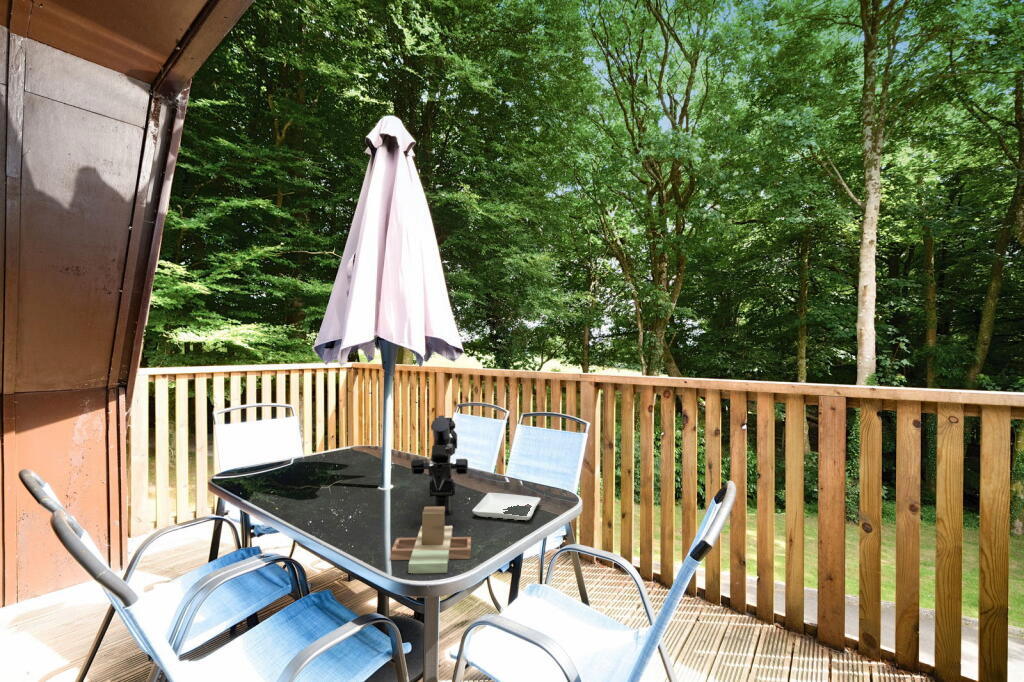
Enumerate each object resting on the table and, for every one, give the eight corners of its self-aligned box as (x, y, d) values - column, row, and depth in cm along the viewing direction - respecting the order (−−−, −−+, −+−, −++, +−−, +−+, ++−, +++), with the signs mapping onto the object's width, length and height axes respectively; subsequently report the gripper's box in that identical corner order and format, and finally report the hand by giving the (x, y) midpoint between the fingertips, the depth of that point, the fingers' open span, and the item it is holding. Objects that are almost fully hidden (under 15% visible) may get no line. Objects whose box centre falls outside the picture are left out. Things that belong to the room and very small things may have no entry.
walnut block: (424, 536, 138) (424, 506, 138) (444, 536, 139) (444, 506, 139) (421, 545, 132) (422, 513, 132) (442, 544, 133) (443, 513, 133)
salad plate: (530, 526, 156) (530, 515, 156) (470, 519, 161) (471, 509, 161) (541, 505, 176) (541, 496, 176) (488, 500, 181) (488, 492, 181)
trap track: (401, 534, 146) (401, 526, 146) (471, 533, 148) (471, 525, 148) (385, 574, 120) (385, 564, 120) (469, 572, 122) (469, 562, 122)
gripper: (412, 434, 154) (406, 477, 143) (468, 435, 156) (466, 476, 145) (415, 453, 162) (409, 494, 151) (468, 453, 163) (467, 494, 152)
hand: (438, 489), depth 149 cm, fingers closed
